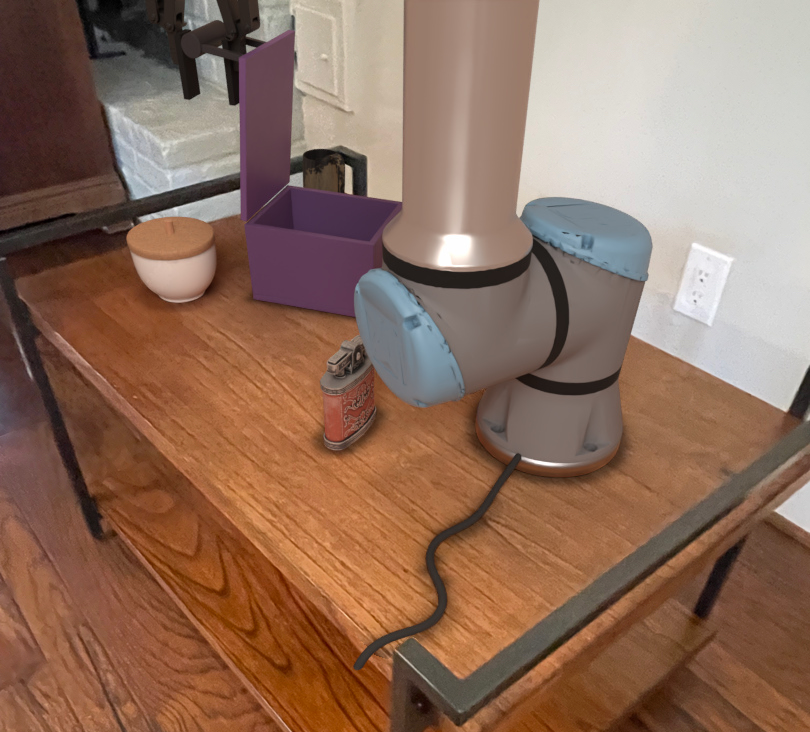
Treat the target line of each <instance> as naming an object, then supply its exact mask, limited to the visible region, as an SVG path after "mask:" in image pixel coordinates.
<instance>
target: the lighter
mask: <svg viewBox="0 0 810 732" xmlns="http://www.w3.org/2000/svg"><path fill="white" fill-rule="evenodd" d="M319 387H320V390H321V392H322V403H323V406H322V407H323V419H324V433H323V444H324V446H325V447H326V448H327V449H329V450H333V451H342V450H345V449H347V448H348V447H350V446H351V445H352V444H354V443H355V442H357V441H358V440H359V439H361V437H363V436H364V435H365V433H366V432H367V431H368V430H369V428H370V427H371V426H372V425H373V424H374V421H375V419H376V418H377V407H376V405H375V368H374V366H373V364H372V362H371V360H370V359H369V357H368V355H367V352H366V350H365V347H364V345H363V342H362V339H361V337H360V334H357V335H355V336H354V337H353V338H352V339H351V340H348V339H344V340H343V341H342V342H341V344H340V347H339V350H338V351H336V352H335V353H334V354H333V355H331V357H329V358H328V359H327V360H326V371H325V372H324V374H323V375H322V376H321V377H320V380H319Z"/></svg>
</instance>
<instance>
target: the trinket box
mask: <svg viewBox="0 0 810 732" xmlns="http://www.w3.org/2000/svg"><path fill="white" fill-rule="evenodd" d="M126 244H127V248H128V249H129V251H130V255H131V256H130V257H131V260H132V263H133V265H134V268H135V271H136V273H137V275H138V277H139V278H140V280H141V281H142V283H143V284H144V286H146V287H147V288H148V289H149V290H150V291H151V292H153V293H154V294H155V295H157V296H158V297H159V298H160V299H162V300H163V301H166V302H169V303H176V304H179V303H181V304H182V303H188V302H192V301H196V300H197V299H200V298H201V297H202V296H204V294H205V293H206V291H207V289H208V288H209V287H210V285H211V283H213V280H214V277H215V275H216V271H217V261H218V260H217V259H218V258H217V247H216V234H215V230H214V228H213V226H211V224H210V223H208V222H206V221H204V220H201V219H199V218H195V217H189V216H163V217H156V218H152V219H148V220H147V221H143V222H140V223H139V224H137V225H135V226H133V227H132V228H131V229H130V230H129V231H128V232H127V234H126Z"/></svg>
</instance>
